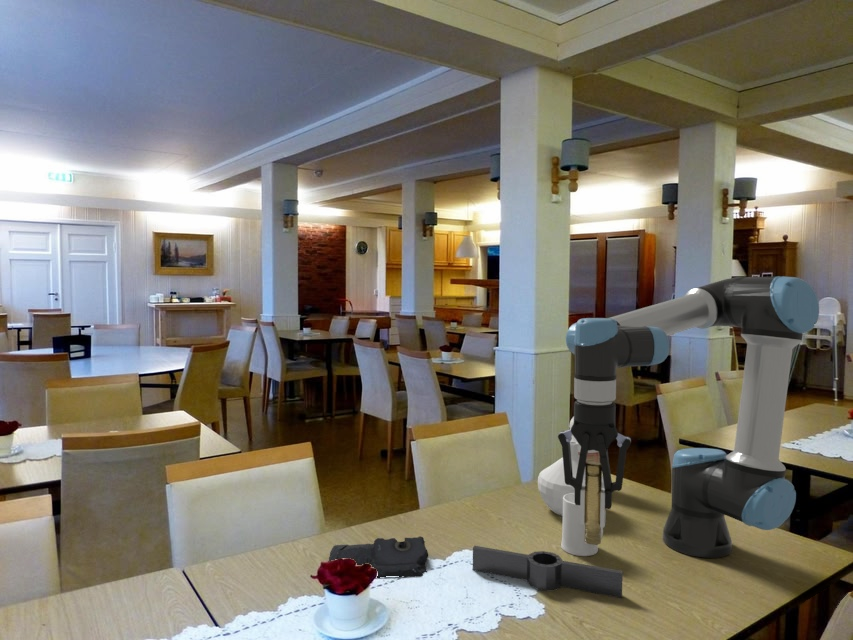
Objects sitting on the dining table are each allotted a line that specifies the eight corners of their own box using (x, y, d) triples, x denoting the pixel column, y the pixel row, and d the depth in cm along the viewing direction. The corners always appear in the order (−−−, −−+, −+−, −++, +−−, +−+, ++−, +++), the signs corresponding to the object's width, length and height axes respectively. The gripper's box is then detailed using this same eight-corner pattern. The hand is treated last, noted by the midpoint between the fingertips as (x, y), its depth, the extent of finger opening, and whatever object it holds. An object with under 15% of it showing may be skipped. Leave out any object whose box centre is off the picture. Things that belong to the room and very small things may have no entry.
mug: (614, 559, 135) (615, 508, 134) (582, 565, 132) (583, 512, 132) (584, 538, 146) (585, 490, 145) (554, 543, 143) (555, 494, 143)
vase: (614, 525, 154) (616, 452, 153) (543, 524, 155) (545, 451, 154) (595, 499, 173) (596, 434, 172) (532, 498, 173) (533, 433, 172)
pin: (601, 539, 114) (602, 462, 113) (600, 545, 111) (601, 467, 110) (585, 536, 115) (586, 460, 114) (583, 543, 112) (584, 465, 111)
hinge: (622, 588, 122) (623, 564, 122) (620, 605, 116) (621, 580, 115) (477, 561, 133) (478, 540, 133) (468, 576, 127) (468, 553, 127)
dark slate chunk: (330, 551, 139) (330, 531, 139) (423, 546, 142) (423, 527, 142) (327, 584, 124) (327, 561, 124) (431, 578, 127) (431, 556, 127)
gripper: (640, 399, 112) (638, 521, 113) (554, 394, 117) (553, 510, 119) (639, 408, 105) (636, 537, 106) (548, 401, 110) (547, 524, 112)
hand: (592, 522), depth 113 cm, fingers closed on pin, 3 cm apart
